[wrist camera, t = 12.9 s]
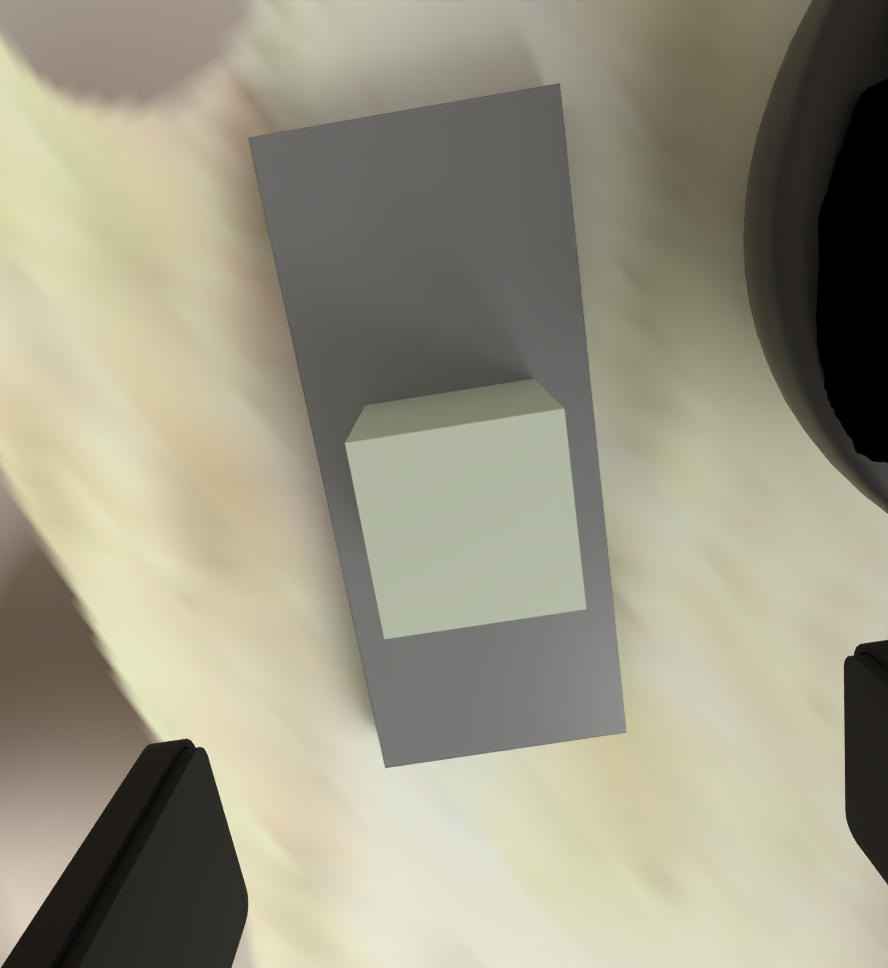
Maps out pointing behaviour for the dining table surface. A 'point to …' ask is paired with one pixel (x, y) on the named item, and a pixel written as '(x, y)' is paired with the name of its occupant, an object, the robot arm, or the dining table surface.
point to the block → (467, 508)
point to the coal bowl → (827, 236)
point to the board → (447, 382)
